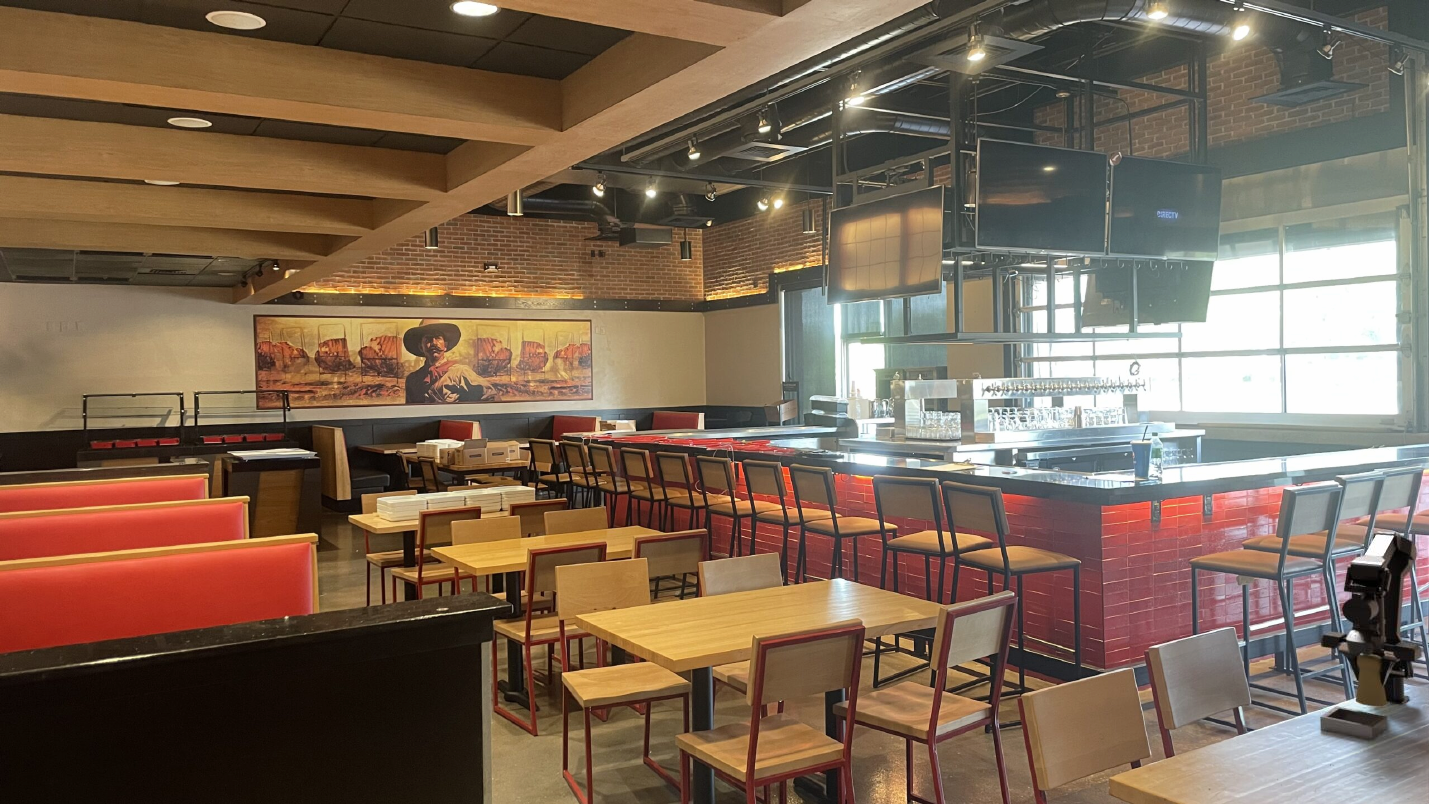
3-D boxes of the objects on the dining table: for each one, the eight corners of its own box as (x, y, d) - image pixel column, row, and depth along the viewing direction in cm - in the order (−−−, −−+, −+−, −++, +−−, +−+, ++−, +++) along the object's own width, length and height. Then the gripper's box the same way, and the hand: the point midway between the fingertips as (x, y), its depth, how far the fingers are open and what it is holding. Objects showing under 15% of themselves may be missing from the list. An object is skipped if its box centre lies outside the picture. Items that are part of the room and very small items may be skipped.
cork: (1349, 700, 226) (1348, 653, 226) (1365, 696, 229) (1364, 650, 228) (1376, 708, 221) (1375, 660, 220) (1392, 703, 223) (1391, 656, 223)
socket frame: (1336, 719, 224) (1336, 706, 224) (1387, 729, 216) (1386, 716, 216) (1320, 729, 218) (1320, 716, 218) (1372, 741, 210) (1371, 727, 210)
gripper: (1311, 615, 226) (1313, 682, 227) (1406, 629, 212) (1407, 699, 212) (1328, 607, 233) (1330, 671, 234) (1421, 619, 219) (1423, 688, 219)
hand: (1370, 682), depth 225 cm, fingers closed on cork, 4 cm apart
